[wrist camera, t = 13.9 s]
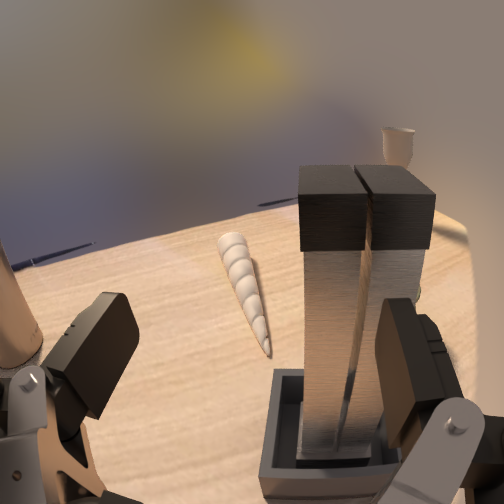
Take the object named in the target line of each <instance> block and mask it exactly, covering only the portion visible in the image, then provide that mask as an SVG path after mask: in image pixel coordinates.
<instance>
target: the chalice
mask: <svg viewBox="0 0 504 504" xmlns="http://www.w3.org/2000/svg"><path fill="white" fill-rule="evenodd" d="M381 130H382V132H383V153H384V156H385V160H386V163H387V165H398V166H402V167H404V168H405V169H407V168H408V166H409V164H410V161H411V158H412V155H413V135H414V133H415V131H414V130H410V129H404V128H393V127H392V128H391V127H383V128H381Z"/></svg>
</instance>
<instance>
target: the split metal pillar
mask: <svg viewBox="0 0 504 504" xmlns="http://www.w3.org/2000/svg"><path fill="white" fill-rule="evenodd" d="M435 200H436V194H435V193H434V192H433V191H431V190H430V189H429V188H428V187H427V186H425V185H424V184H423V183H422V182H421V181H420V180H418V179H417V178H416V177H415V176H414V175H412V174H411V173H410V172H409V171H407V170H406V169H405V168H404V167H402V166H398V165H354V171H353V169H352V168H351V166H350V165H314V166H313V165H310V166H300V170H299V186H298V204H299V226H300V252H304V305H305V346H304V399H303V402H301V407H300V420H299V433H298V444H297V455H296V469H337V468H355V467H367V465H368V463H369V461H370V459H371V443H370V442H371V440H372V438H373V435H374V433H375V430H376V428H377V426H378V423H379V420H380V418H381V415H382V413H383V410H384V407H383V400H382V394H381V388H380V381H379V376H378V370H377V364H376V359H375V337H376V332H377V328H378V323H379V318H380V313H381V308H382V303H383V300H384V299H385V298H410V299H411V301H412V303H413V306H414V307H415V302H416V298H417V293H418V288H419V283H420V278H421V273H422V267H423V262H424V256H425V250H426V249H429V247H430V240H431V233H432V226H433V218H434V210H435Z"/></svg>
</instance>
